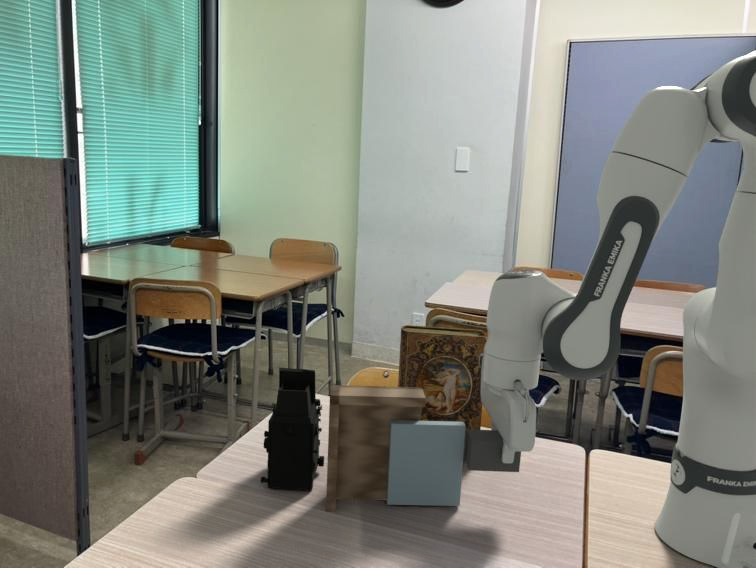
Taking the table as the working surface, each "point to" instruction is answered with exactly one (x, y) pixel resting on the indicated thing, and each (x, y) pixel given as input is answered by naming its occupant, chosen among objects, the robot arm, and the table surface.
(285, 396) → the camera
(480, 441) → the block
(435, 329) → the book
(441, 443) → the door panel
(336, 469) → the open wooden box
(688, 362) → the robot arm
